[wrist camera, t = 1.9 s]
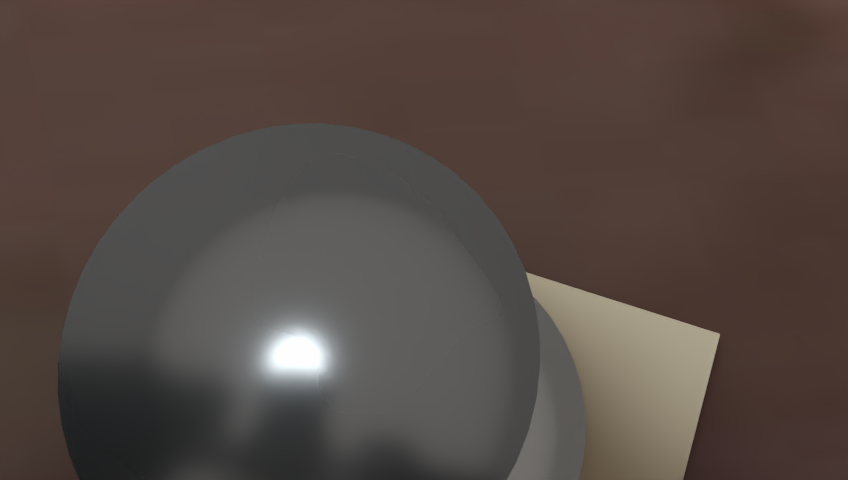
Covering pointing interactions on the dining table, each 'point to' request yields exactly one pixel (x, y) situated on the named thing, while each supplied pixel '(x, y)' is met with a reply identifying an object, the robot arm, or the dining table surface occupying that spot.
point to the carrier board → (631, 381)
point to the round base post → (314, 325)
